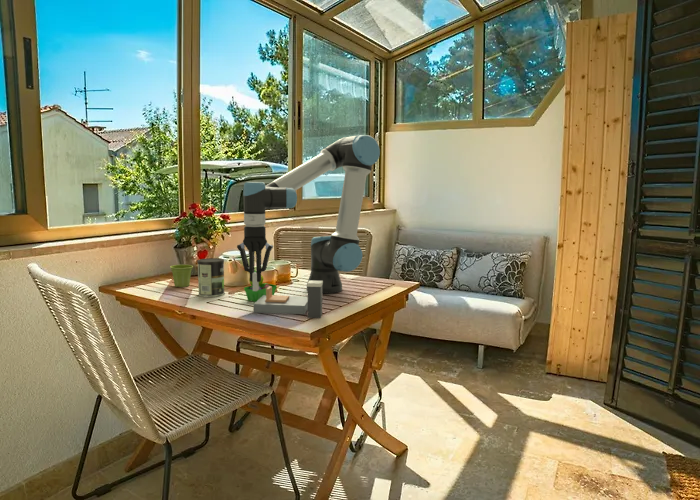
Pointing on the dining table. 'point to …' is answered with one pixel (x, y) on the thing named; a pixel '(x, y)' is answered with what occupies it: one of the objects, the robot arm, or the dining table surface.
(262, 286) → the fruit basket
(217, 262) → the coffee can
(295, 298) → the socket
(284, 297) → the tan plate with tab
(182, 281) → the plant pot
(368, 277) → the dining table surface
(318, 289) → the plug
